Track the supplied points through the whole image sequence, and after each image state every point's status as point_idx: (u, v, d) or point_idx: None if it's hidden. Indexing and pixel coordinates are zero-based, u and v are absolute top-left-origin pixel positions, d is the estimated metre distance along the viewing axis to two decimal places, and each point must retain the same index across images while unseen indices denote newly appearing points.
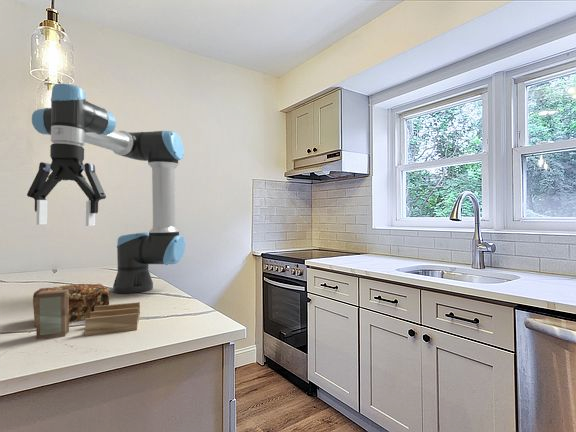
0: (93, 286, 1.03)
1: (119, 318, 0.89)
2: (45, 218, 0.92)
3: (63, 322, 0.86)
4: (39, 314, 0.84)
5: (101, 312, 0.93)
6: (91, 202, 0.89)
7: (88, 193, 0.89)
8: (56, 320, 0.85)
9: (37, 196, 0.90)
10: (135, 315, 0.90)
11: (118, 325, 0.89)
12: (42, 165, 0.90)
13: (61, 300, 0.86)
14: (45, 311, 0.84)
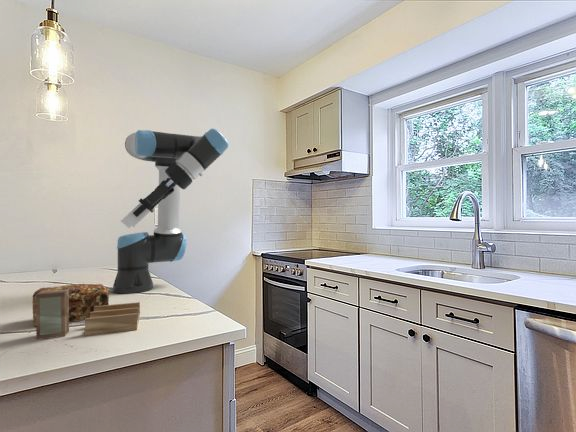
0: (93, 286, 1.03)
1: (119, 318, 0.89)
2: None
3: (63, 322, 0.86)
4: (39, 314, 0.84)
5: (101, 312, 0.93)
6: None
7: (154, 206, 1.02)
8: (56, 320, 0.85)
9: (150, 207, 0.89)
10: (135, 315, 0.90)
11: (118, 325, 0.89)
12: (173, 186, 0.92)
13: (62, 300, 0.86)
14: (45, 311, 0.84)
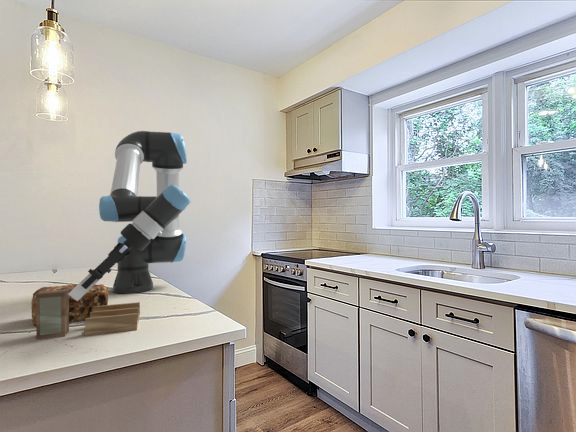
0: None
1: (119, 318, 0.89)
2: None
3: (63, 322, 0.86)
4: (39, 314, 0.84)
5: (101, 312, 0.93)
6: None
7: None
8: (56, 320, 0.85)
9: None
10: (135, 315, 0.90)
11: (118, 325, 0.89)
12: (127, 251, 0.86)
13: (61, 300, 0.86)
14: (45, 311, 0.84)
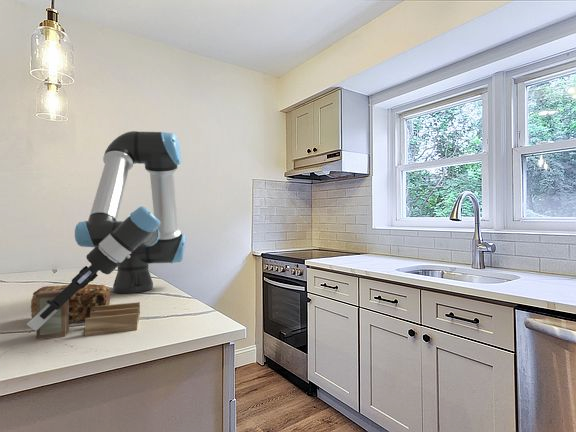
0: (92, 287, 1.02)
1: (119, 318, 0.89)
2: None
3: (63, 322, 0.86)
4: None
5: (101, 312, 0.93)
6: None
7: (70, 297, 0.91)
8: (56, 320, 0.85)
9: None
10: (135, 315, 0.90)
11: (118, 325, 0.89)
12: (87, 281, 0.84)
13: None
14: None
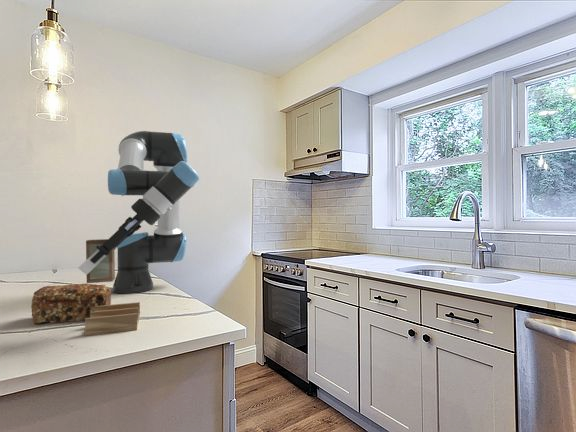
0: (92, 287, 1.02)
1: (119, 318, 0.89)
2: None
3: (111, 268, 0.90)
4: None
5: (101, 312, 0.93)
6: None
7: None
8: (104, 266, 0.89)
9: None
10: (135, 315, 0.90)
11: (118, 325, 0.89)
12: (133, 228, 0.88)
13: None
14: None
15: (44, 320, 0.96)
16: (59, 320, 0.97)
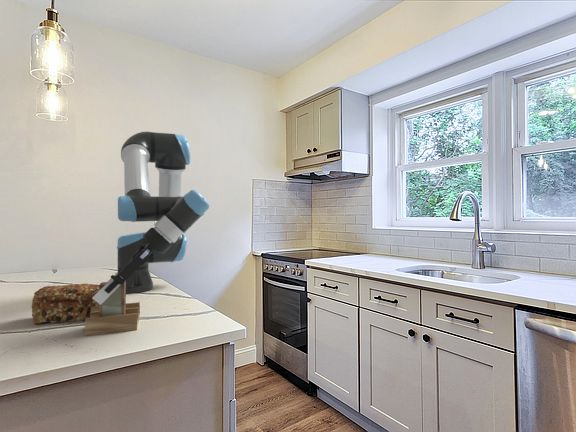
0: (92, 287, 1.02)
1: (119, 318, 0.89)
2: None
3: (123, 311, 0.91)
4: (101, 304, 0.89)
5: None
6: None
7: None
8: (117, 309, 0.91)
9: None
10: (135, 315, 0.90)
11: (118, 325, 0.89)
12: None
13: (121, 291, 0.91)
14: (107, 301, 0.90)
15: (45, 320, 0.96)
16: (60, 320, 0.97)
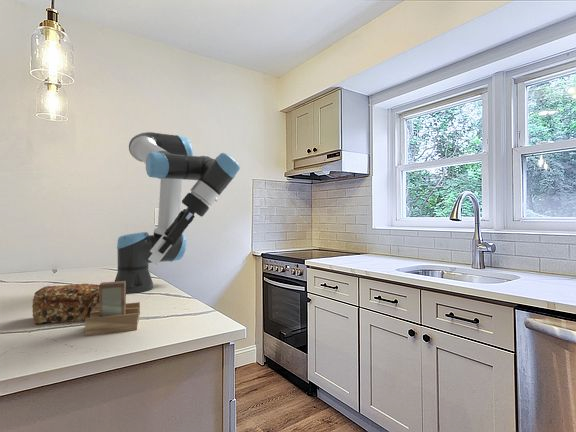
0: (93, 287, 1.02)
1: (119, 318, 0.89)
2: None
3: (123, 311, 0.91)
4: (101, 303, 0.89)
5: None
6: None
7: None
8: (117, 309, 0.91)
9: None
10: (135, 315, 0.90)
11: (118, 325, 0.89)
12: None
13: (121, 291, 0.91)
14: (107, 301, 0.90)
15: (45, 320, 0.96)
16: (60, 320, 0.97)
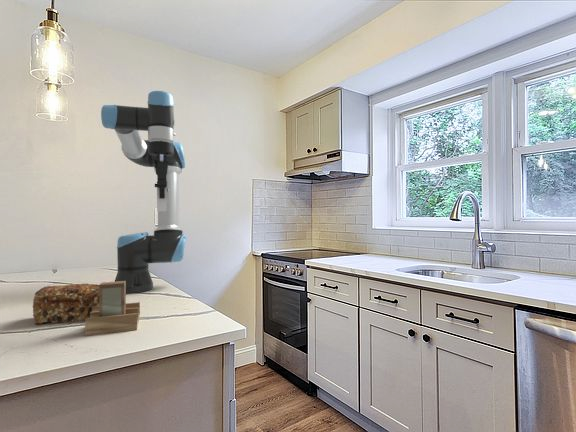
0: (93, 287, 1.02)
1: (119, 318, 0.89)
2: None
3: (123, 311, 0.91)
4: (101, 303, 0.89)
5: None
6: None
7: None
8: (117, 309, 0.91)
9: (166, 184, 1.00)
10: (135, 315, 0.90)
11: (118, 325, 0.89)
12: (166, 157, 1.02)
13: (121, 291, 0.91)
14: (107, 301, 0.90)
15: (46, 320, 0.96)
16: (61, 320, 0.97)
